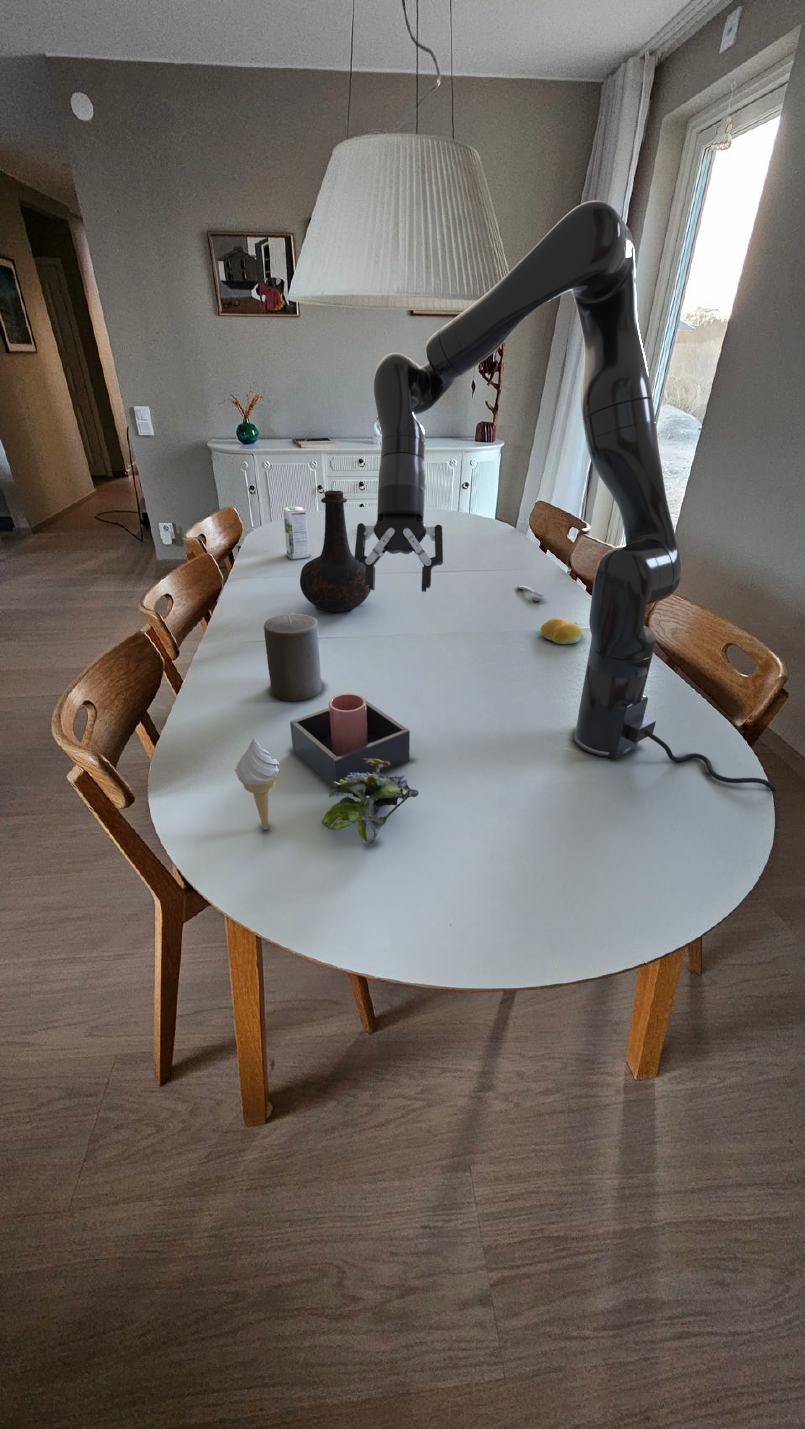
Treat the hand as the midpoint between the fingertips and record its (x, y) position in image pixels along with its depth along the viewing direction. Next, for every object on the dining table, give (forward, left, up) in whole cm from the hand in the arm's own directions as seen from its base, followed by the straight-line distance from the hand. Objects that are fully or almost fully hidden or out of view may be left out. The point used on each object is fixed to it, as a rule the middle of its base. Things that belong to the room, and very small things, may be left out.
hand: (397, 590), depth 101 cm
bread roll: (+4, -49, -23) cm, 54 cm away
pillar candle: (+18, +11, -23) cm, 31 cm away
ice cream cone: (-15, +34, -23) cm, 43 cm away
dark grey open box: (-7, +15, -23) cm, 28 cm away
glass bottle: (+51, -19, -23) cm, 59 cm away
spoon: (+27, -64, -23) cm, 74 cm away
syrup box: (+95, -32, -23) cm, 103 cm away
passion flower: (-23, +22, -23) cm, 39 cm away
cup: (-7, +15, -22) cm, 27 cm away
